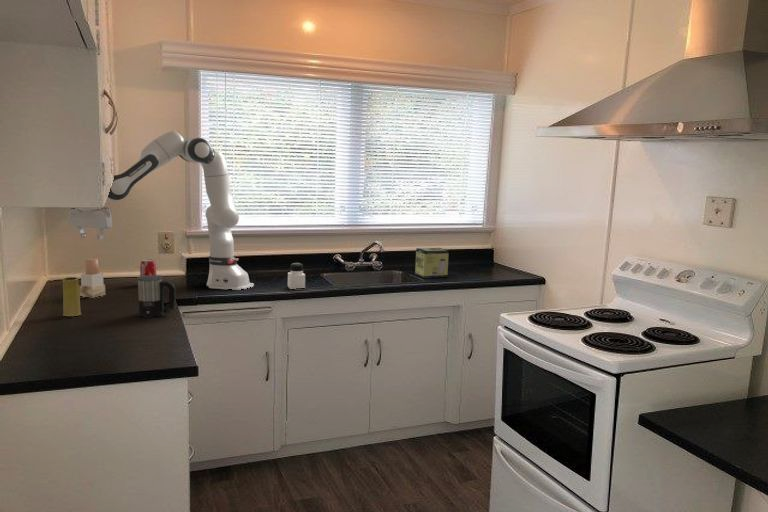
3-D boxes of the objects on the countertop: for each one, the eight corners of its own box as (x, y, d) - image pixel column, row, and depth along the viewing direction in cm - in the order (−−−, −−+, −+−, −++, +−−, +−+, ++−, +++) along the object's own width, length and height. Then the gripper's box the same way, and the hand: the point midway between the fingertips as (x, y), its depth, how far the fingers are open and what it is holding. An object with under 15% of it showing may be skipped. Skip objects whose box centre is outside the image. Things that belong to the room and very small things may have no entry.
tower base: (105, 295, 256) (105, 284, 256) (92, 298, 250) (92, 287, 249) (92, 294, 258) (92, 282, 258) (79, 297, 252) (79, 285, 251)
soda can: (137, 285, 279) (136, 260, 277) (149, 282, 285) (148, 258, 283) (147, 287, 275) (147, 261, 274) (159, 284, 282) (159, 259, 280)
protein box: (414, 275, 333) (415, 248, 330) (438, 274, 339) (440, 247, 336) (423, 278, 323) (424, 250, 321) (447, 277, 329) (449, 250, 327)
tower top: (103, 284, 255) (103, 273, 254) (92, 287, 250) (91, 275, 249) (92, 283, 257) (92, 271, 256) (81, 285, 252) (80, 274, 251)
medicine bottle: (305, 289, 285) (305, 264, 283) (290, 289, 282) (291, 265, 280) (301, 286, 291) (302, 262, 290) (287, 286, 289) (287, 262, 287)
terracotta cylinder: (101, 272, 254) (100, 259, 253) (92, 274, 250) (91, 260, 249) (92, 271, 256) (91, 258, 255) (83, 273, 251) (82, 259, 250)
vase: (64, 314, 224) (62, 277, 222) (82, 313, 226) (80, 276, 224) (61, 318, 218) (60, 280, 216) (80, 317, 221) (78, 279, 218)
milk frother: (138, 318, 222) (137, 280, 220) (136, 308, 236) (135, 272, 234) (178, 316, 228) (177, 278, 226) (174, 306, 242) (173, 271, 240)
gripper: (115, 206, 248) (116, 239, 250) (77, 203, 254) (79, 235, 257) (103, 207, 242) (105, 240, 244) (65, 204, 249) (67, 237, 251)
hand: (91, 238), depth 250 cm, fingers open, 8 cm apart
